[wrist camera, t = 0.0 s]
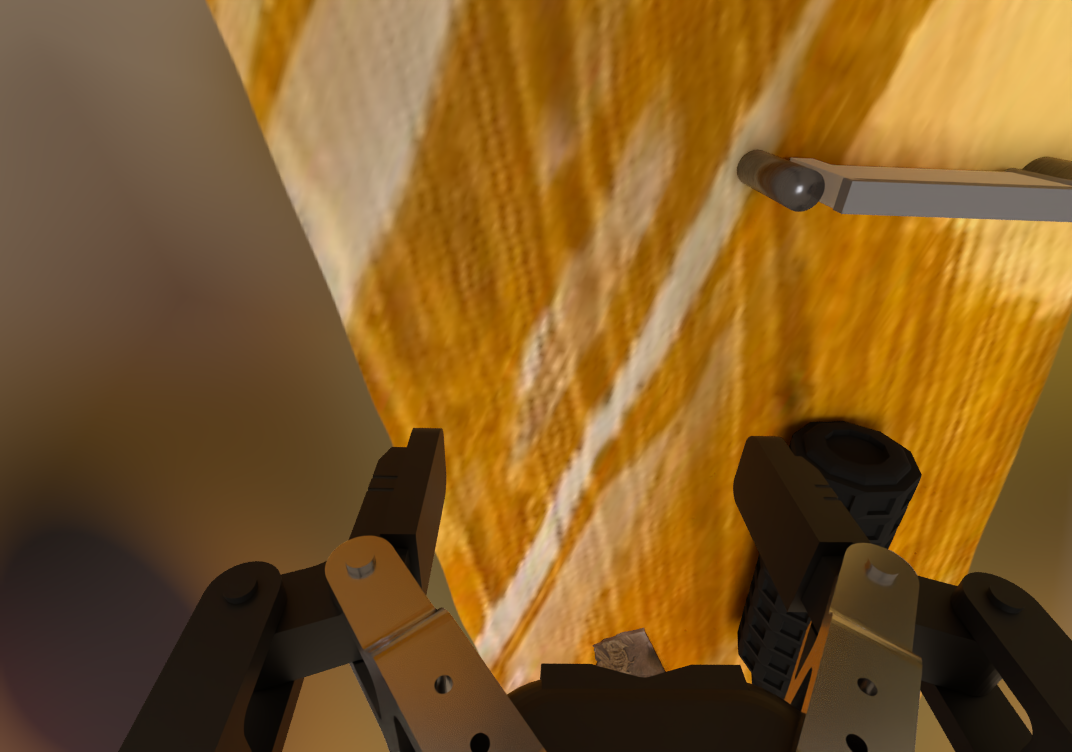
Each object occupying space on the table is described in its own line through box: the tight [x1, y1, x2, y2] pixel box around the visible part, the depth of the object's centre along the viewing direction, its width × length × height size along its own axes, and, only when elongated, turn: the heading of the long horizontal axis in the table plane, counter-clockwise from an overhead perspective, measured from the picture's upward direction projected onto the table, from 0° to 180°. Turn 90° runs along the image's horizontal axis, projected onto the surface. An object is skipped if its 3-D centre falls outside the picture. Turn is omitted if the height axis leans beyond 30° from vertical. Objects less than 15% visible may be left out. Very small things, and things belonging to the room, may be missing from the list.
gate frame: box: [737, 150, 1072, 212], centre depth 33 cm, size 3×24×11 cm, turn 88°
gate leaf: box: [790, 158, 1072, 222], centre depth 34 cm, size 17×2×8 cm, turn 88°
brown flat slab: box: [593, 628, 665, 677], centre depth 73 cm, size 26×11×1 cm, turn 176°
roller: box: [738, 421, 922, 700], centre depth 55 cm, size 38×10×10 cm, turn 2°
